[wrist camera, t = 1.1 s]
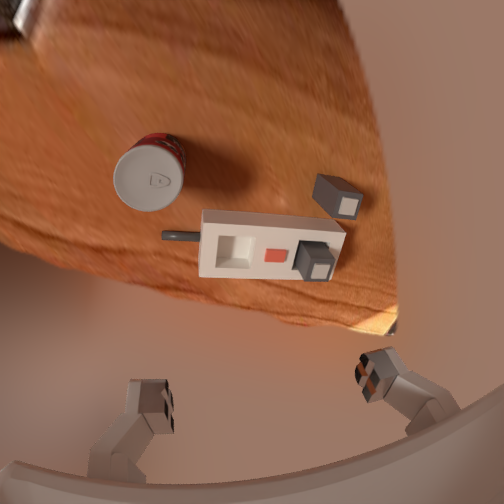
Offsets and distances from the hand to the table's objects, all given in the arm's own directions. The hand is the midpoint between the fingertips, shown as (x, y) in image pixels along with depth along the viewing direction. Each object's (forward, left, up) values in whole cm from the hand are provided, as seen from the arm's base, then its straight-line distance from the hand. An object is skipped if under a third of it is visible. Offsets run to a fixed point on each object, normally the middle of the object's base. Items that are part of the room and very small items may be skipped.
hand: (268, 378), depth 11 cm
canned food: (0, -8, -36) cm, 36 cm away
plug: (+2, +18, -36) cm, 40 cm away
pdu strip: (+12, +7, -35) cm, 38 cm away
